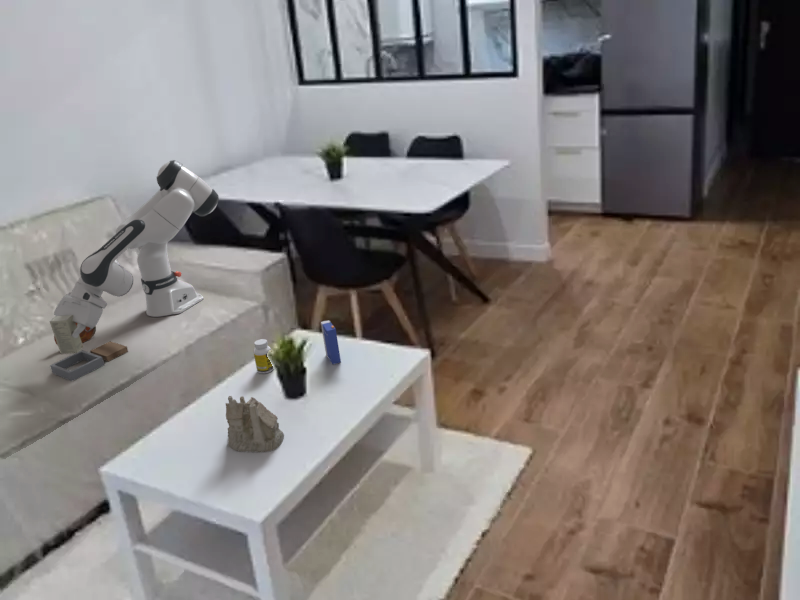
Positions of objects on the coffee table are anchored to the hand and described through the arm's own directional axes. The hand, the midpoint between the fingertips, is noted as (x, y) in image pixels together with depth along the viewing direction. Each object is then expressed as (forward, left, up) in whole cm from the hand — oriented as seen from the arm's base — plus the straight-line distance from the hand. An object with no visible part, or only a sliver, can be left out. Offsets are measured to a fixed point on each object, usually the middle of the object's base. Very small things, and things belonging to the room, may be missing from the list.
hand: (66, 334), depth 243 cm
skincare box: (0, 0, -6) cm, 6 cm away
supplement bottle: (-28, +61, -13) cm, 69 cm away
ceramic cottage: (-1, +87, -13) cm, 88 cm away
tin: (-12, -20, -13) cm, 27 cm away
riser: (-12, 0, -13) cm, 18 cm away
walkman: (-43, +76, -13) cm, 89 cm away
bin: (0, 0, -13) cm, 13 cm away
